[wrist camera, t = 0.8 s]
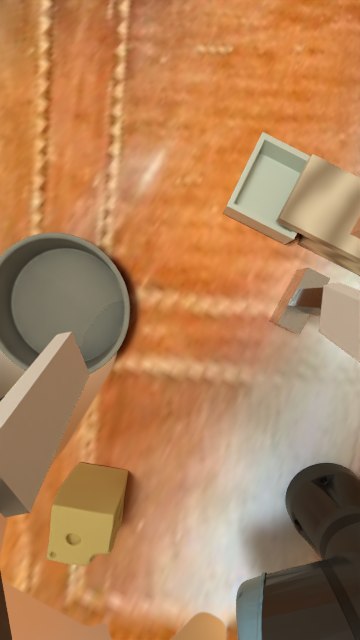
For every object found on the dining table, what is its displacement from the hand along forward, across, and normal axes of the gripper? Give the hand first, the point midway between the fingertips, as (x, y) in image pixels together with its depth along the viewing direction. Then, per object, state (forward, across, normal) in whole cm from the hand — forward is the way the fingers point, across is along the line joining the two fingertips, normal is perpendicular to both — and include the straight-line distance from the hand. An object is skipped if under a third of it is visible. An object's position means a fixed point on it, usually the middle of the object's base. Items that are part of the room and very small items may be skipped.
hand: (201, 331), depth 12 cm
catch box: (+33, -18, -5) cm, 38 cm away
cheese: (+19, +22, +41) cm, 50 cm away
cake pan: (+31, +21, +7) cm, 38 cm away
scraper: (+27, -20, +12) cm, 35 cm away
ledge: (+30, -28, +1) cm, 41 cm away
